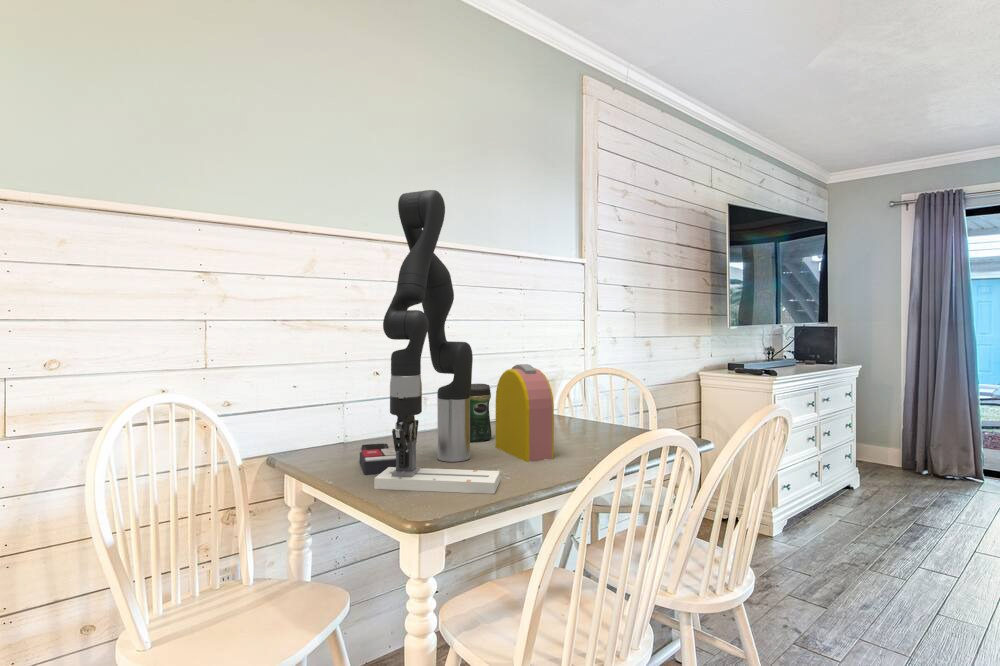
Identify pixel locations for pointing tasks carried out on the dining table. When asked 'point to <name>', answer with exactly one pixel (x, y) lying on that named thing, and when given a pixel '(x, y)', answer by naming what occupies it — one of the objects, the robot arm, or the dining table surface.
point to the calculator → (377, 460)
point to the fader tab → (412, 462)
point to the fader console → (441, 481)
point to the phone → (375, 446)
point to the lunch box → (525, 414)
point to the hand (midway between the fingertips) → (405, 465)
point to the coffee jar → (480, 413)
